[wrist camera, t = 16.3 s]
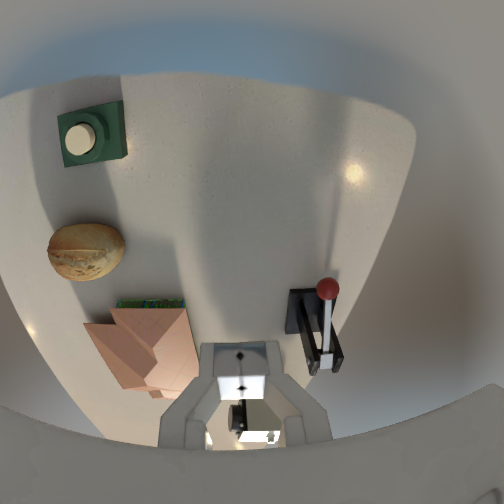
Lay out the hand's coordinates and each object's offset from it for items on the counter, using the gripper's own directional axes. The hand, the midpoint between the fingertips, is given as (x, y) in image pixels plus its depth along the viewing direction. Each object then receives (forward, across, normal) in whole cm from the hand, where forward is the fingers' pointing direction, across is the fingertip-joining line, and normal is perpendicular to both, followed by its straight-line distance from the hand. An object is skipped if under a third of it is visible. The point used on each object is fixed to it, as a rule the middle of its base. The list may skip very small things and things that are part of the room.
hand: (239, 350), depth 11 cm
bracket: (+31, -14, +29) cm, 45 cm away
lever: (+24, -14, +24) cm, 37 cm away
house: (+31, +20, +41) cm, 55 cm away
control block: (+31, +20, -6) cm, 37 cm away
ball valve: (+31, -6, +55) cm, 64 cm away
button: (+28, +20, -6) cm, 34 cm away
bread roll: (+31, +25, +12) cm, 42 cm away
